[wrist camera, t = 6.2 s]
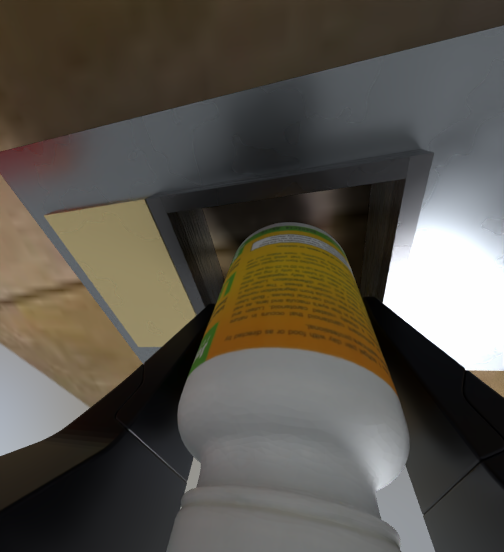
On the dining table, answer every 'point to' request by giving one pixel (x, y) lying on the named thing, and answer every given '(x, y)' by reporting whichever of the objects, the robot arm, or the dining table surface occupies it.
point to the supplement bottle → (289, 408)
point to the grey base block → (296, 191)
